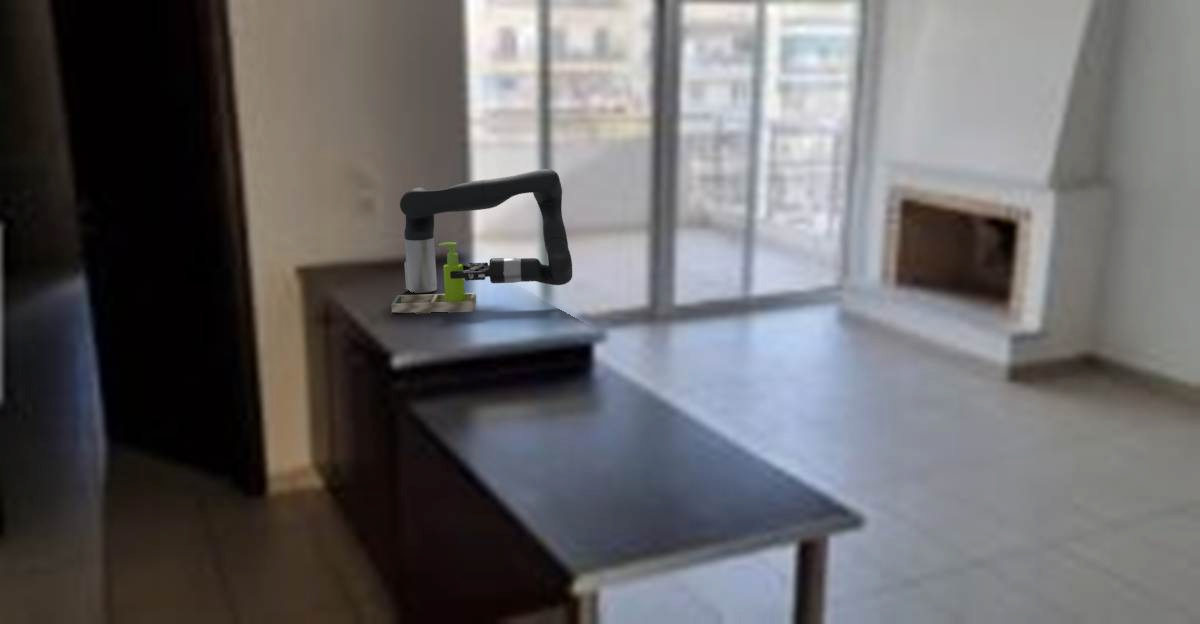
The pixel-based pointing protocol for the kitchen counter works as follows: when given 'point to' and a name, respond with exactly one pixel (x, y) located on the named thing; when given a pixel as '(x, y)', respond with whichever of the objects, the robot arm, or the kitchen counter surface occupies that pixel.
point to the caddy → (432, 303)
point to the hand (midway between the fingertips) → (452, 272)
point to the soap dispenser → (452, 286)
